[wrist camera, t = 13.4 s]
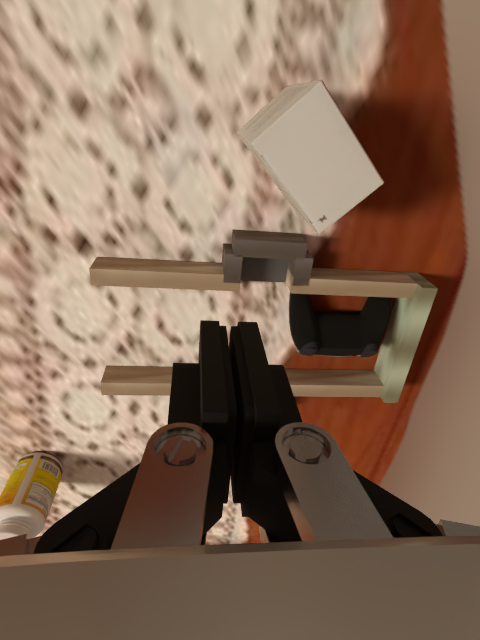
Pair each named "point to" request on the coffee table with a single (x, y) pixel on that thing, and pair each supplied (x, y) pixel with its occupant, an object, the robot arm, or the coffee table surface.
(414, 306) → the channel
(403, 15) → the coffee table surface
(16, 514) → the supplement bottle
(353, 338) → the gaming controller
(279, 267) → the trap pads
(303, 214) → the small box
